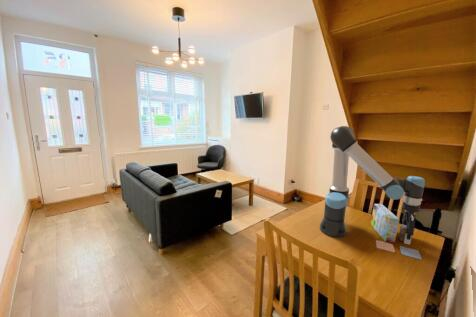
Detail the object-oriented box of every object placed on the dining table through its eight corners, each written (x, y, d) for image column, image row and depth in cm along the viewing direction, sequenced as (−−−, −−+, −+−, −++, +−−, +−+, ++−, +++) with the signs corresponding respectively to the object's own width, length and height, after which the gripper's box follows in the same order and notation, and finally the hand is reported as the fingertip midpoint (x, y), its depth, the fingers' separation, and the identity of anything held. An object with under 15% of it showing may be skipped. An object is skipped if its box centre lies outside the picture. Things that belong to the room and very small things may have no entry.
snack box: (396, 243, 117) (400, 219, 114) (385, 242, 118) (389, 218, 115) (379, 224, 138) (382, 203, 135) (369, 223, 139) (372, 202, 136)
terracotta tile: (376, 248, 113) (377, 247, 113) (375, 240, 120) (375, 240, 120) (394, 252, 109) (395, 252, 109) (392, 244, 116) (392, 244, 116)
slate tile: (402, 254, 108) (402, 254, 108) (399, 246, 114) (399, 245, 114) (421, 260, 104) (422, 259, 104) (417, 251, 111) (418, 250, 111)
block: (400, 240, 120) (402, 227, 118) (398, 236, 124) (401, 223, 123) (411, 243, 118) (413, 229, 116) (409, 238, 122) (411, 226, 120)
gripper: (426, 212, 105) (418, 251, 110) (415, 198, 124) (409, 232, 128) (407, 209, 109) (400, 247, 113) (400, 195, 128) (394, 229, 132)
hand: (405, 239), depth 121 cm, fingers open, 9 cm apart
